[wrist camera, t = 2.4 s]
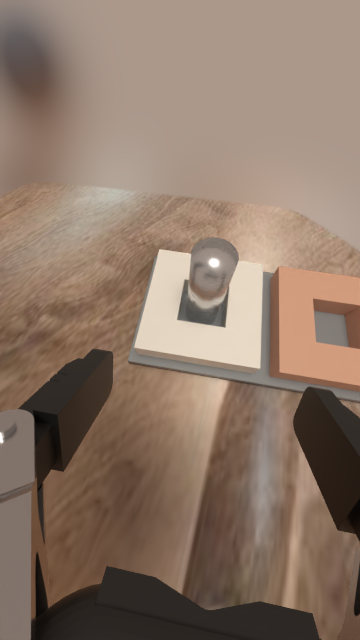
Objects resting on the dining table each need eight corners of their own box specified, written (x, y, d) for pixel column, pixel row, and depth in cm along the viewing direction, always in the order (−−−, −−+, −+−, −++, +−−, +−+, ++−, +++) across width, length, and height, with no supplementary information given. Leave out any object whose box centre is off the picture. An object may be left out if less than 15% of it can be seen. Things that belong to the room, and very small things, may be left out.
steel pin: (184, 323, 26) (187, 271, 16) (188, 296, 27) (194, 234, 18) (215, 329, 25) (236, 278, 16) (218, 301, 27) (240, 240, 18)
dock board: (129, 363, 25) (122, 354, 22) (156, 260, 30) (153, 242, 27) (394, 408, 23) (428, 407, 20) (371, 292, 29) (396, 276, 25)
